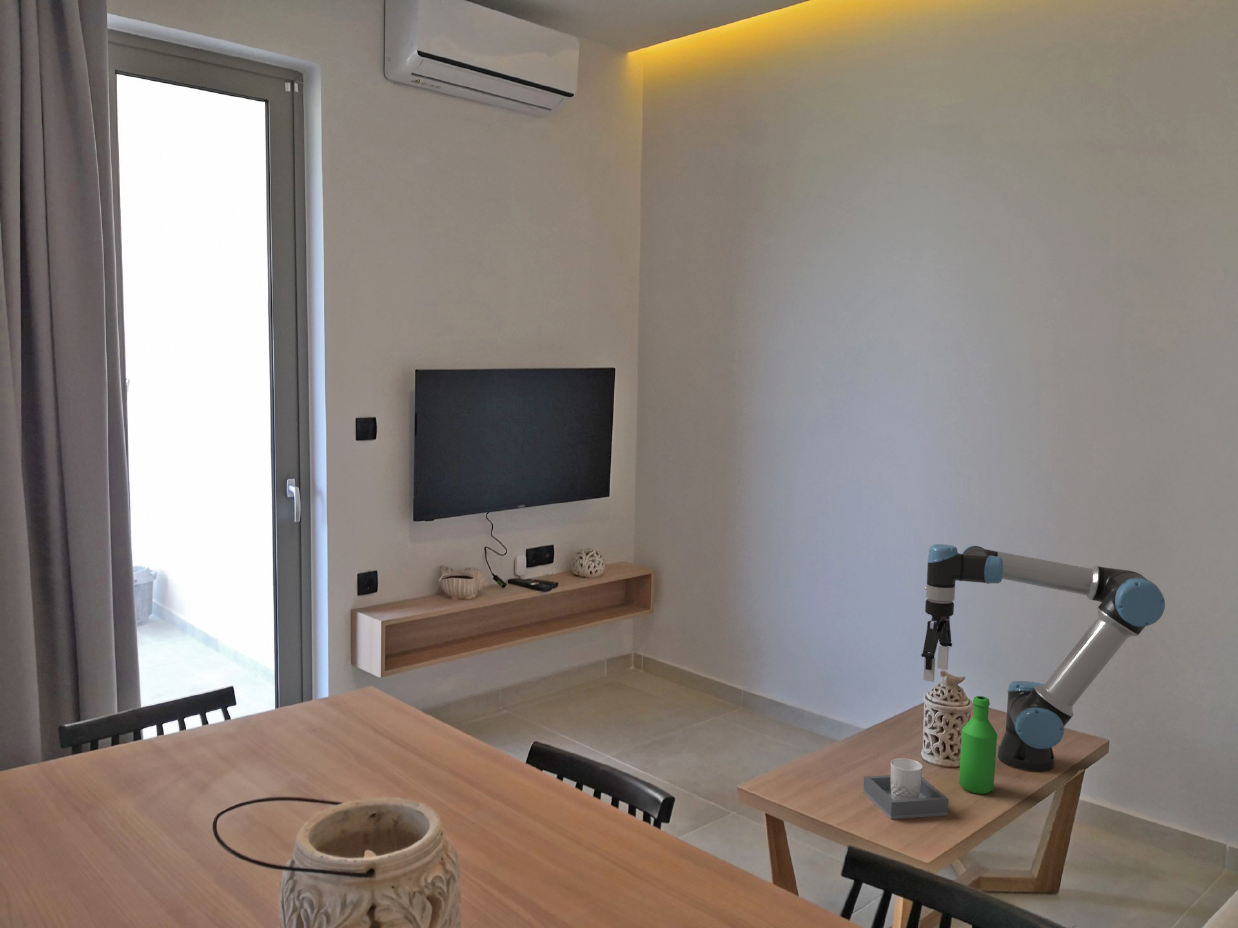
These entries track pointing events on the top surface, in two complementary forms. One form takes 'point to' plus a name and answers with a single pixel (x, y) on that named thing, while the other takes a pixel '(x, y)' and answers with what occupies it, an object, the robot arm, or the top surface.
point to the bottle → (978, 750)
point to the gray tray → (925, 806)
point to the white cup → (905, 779)
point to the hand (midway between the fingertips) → (935, 674)
